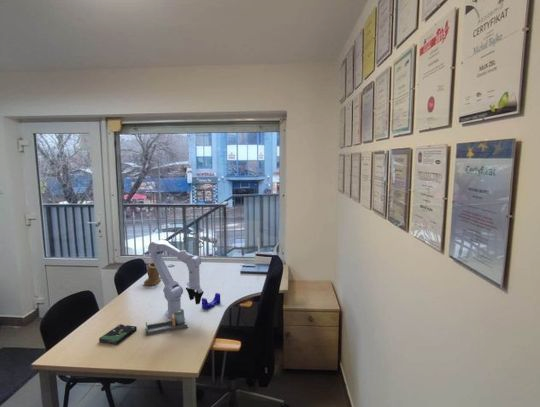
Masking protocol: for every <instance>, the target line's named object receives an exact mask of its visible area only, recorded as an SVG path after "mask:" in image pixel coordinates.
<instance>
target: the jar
mask: <svg viewBox="0 0 540 407" xmlns="http://www.w3.org/2000/svg"><path fill="white" fill-rule="evenodd" d="M184 311H185V310H184V309H183V308H181V309H177V310H175V311H174V317H175V325H176V326H178V325H183V324H185V321H186V318H185V312H184Z"/></svg>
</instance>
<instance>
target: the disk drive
mask: <svg viewBox="0 0 540 407" xmlns="http://www.w3.org/2000/svg"><path fill="white" fill-rule="evenodd" d="M137 329H138V328H137V326H134V325H125V324H121V323H120V324H118V325H117V326H115V327H114V328H112V329H111V330H109V331H107V333H104V334H103V335H102V336H101V337H99V338H98V342H99V344H106V345H112V346H118V345H119V344H122V342H124V341H125V340H127V338H129V337H131V335H133V334H134V333H136V332H137V331H138V330H137Z"/></svg>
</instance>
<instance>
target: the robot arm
mask: <svg viewBox="0 0 540 407" xmlns="http://www.w3.org/2000/svg"><path fill="white" fill-rule="evenodd" d="M147 250H148V252H149V254H150V257H151V258H150V259H151V261H152V263H154V265H155V267H156V269H157V271H158V273H159V276H160V277H161V280H162V282H163V285H164V287H163V289H162V291H163V294H164V295H163V296H164V299H166V301H167V309H166V315H167V317H168V318H172V314H174V311H175V310H177V309H182V304H181V303H182V302H181V298H182V295H183V294H184V288H183V287H182V286H181V285H180V283H179V282H178V281H176V280H174V278H173V276H172V274H171V272H170V270H169V268H168V266H167V264H166V262H165V260H164V259H163V255H164V253H165V252H167V253H169V254H171V255H174V256H176V258H177V260H179V261H180V262H182V263H184V264H186V267H187V270H188V282H187V283H186V286H187V287H186V288H185V291H186V292H187V294H188V298H189V300H190V301H192V300H194V301H195V305H200V304H201V302H202V298H203V295H204V291H203V289H202V287H201V283H200V265H202V259H201V257H200V256H198V255H193V254H191V253H190V252H187V250H185V249H182V250H180V249H179V248H176V247H175V246H174V245H172V244H171V243H169V241H168V240H166V239H164V238H162V239H158V240H156V241H151V242H150V243H149V244H148V247H147Z"/></svg>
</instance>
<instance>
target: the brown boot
mask: <svg viewBox="0 0 540 407" xmlns="http://www.w3.org/2000/svg"><path fill="white" fill-rule="evenodd" d="M146 271H147V272H146V273H147V276H148V278H147V279H146V280H144V282H143V284H144V285H147V286H153V285H154V286H155V285H156V284H158V283H159V282H160V281H161V280H162V279H161V277H160V275H159V273H158V271H157V269H156V267H155V265H154V263H153V262H150V263H148V265H147V270H146Z"/></svg>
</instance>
